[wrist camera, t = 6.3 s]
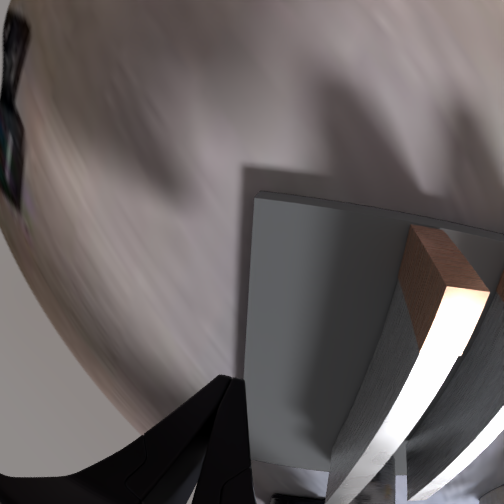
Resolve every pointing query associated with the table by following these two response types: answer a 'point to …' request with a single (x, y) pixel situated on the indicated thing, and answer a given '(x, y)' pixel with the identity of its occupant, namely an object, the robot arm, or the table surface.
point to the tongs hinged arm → (406, 364)
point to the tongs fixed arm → (462, 411)
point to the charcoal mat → (329, 316)
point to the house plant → (493, 496)
